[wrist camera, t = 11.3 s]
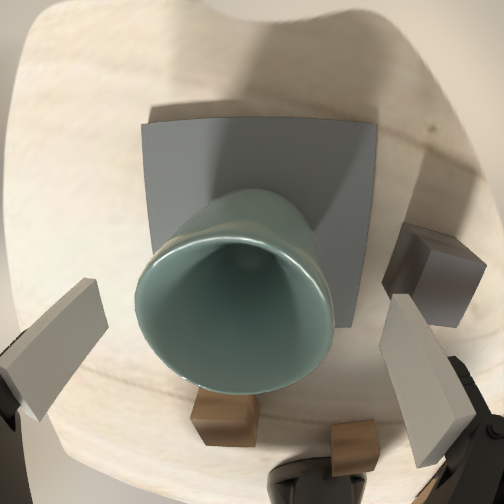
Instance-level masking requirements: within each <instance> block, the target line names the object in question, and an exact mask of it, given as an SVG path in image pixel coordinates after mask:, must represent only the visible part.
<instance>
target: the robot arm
mask: <svg viewBox="0 0 504 504" xmlns="http://www.w3.org/2000/svg"><path fill="white" fill-rule="evenodd" d="M108 328H109V327H108V323H107V320H106V316H105V313H104V309H103V305H102V301H101V297H100V293H99V289H98V285H97V281H96V279H89V278H83V279H82V280H81V281H80V282H79V283H77V284H76V285H75V286H74V287H73V288H72V289H71V290H70V291H68V292H67V293H66V294H65V295H64V296H63V297H62V298H61V299H59V300H58V301H57V302H56V303H55V304H54V305H53V306H52V307H51V308H50V309H49V310H48V311H46V312H45V313H44V314H43V315H42V316H41V317H40V318H39V319H38V320H37V321H36V322H35V323H34V324H33V325H32V326H31V327H30V328H28V329H26V330H25V331H23V332H22V333H21V334H20V335H19V336H18V337H17V338H16V340H14V341H13V342H12V343H11V344H10V346H8V347H7V348H6V349H5V350H4V351H3V352H2V353H1V354H0V504H33V501H32V497H31V493H30V488H29V483H28V477H27V472H26V466H25V459H24V452H23V443H22V434H21V420H20V414H19V413H18V411H17V409H18V408H19V407H20V406H21V408H22V409H23V411H24V412H25V413H26V415H27V416H29V417H31V418H33V419H34V420H36V421H39V422H40V421H41V420H42V418H43V417H44V415H45V414H46V412H47V411H48V409H49V408H50V406H51V405H52V403H53V402H54V401H55V399H56V398H57V396H58V395H59V393H60V392H61V391H62V389H63V388H64V386H65V385H66V384H67V382H68V381H69V379H70V378H71V377H72V375H73V374H74V373H75V371H76V370H77V369H78V367H79V366H80V364H81V363H82V362H83V360H84V359H85V358H86V356H87V355H88V354H89V352H90V351H91V350H92V349H93V347H94V346H95V345H96V343H97V342H98V341H99V339H100V338H101V337H102V336H103V334H104V333H105V332H106V330H107V329H108ZM379 347H380V350H381V353H382V355H383V358H384V361H385V364H386V367H387V370H388V373H389V376H390V378H391V381H392V384H393V388H394V391H395V394H396V397H397V400H398V403H399V406H400V410H401V413H402V416H403V420H404V423H405V426H406V430H407V433H408V437H409V441H410V444H411V448H412V452H413V456H414V460H415V464H416V468H422V467H426V466H430V465H434V464H437V463H438V462H439V460H440V459H441V458H442V457H443V456H444V455H445V458H446V461H447V463H446V464H445V465H444V466H443V467H442V468H441V469H440V471H439V472H438V473H437V474H436V475H435V476H434V477H433V478H434V479H436V478H437V477H438V476H439V477H438V479H437V480H436V482H435V484H434V486H433V488H432V490H431V492H430V493H429V495H428V497H427V499H426V500H425V502H424V504H504V418H503V417H502V416H500V415H495V414H491V412H490V410H489V408H488V406H487V404H486V402H485V400H484V398H483V396H482V395H481V393H480V391H479V389H478V387H477V385H475V382H474V380H473V378H472V376H471V377H470V373H469V371H468V369H467V368H466V366H465V364H464V363H462V362H461V361H460V360H459V359H458V358H457V357H456V356H451V357H447V356H446V354H445V353H444V351H443V349H442V347H441V346H440V344H439V342H438V341H437V339H436V337H435V335H434V334H433V332H432V330H431V329H430V327H429V326H428V324H427V322H426V321H425V319H424V317H423V316H422V314H421V313H420V311H419V309H418V308H417V306H416V305H415V303H414V302H413V300H412V299H411V297H410V296H409V294H392V298H391V303H390V307H389V311H388V315H387V318H386V322H385V326H384V330H383V333H382V337H381V340H380V344H379ZM366 482H367V476H366V472H364V473H357V474H351V475H343V476H335V477H332V460H331V458H319V459H309V460H302V461H297V462H293V463H289V464H286V465H283V466H280V467H278V468H276V469H274V470H273V471H272V472H270V474H269V475H268V482H267V491H268V494H269V498H270V501H271V504H361V501H362V497H363V494H364V490H365V486H366Z"/></svg>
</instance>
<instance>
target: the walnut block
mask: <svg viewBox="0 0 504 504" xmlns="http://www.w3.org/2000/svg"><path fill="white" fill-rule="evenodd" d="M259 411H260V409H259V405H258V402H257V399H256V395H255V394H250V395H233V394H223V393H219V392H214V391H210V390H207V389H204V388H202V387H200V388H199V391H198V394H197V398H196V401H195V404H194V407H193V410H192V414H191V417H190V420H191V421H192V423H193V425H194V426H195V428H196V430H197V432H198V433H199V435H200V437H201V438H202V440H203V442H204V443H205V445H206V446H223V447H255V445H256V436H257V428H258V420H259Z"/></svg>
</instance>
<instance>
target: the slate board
mask: <svg viewBox="0 0 504 504" xmlns="http://www.w3.org/2000/svg"><path fill="white" fill-rule="evenodd" d="M376 131H377V124H370V123H361V122H352V121H341V120H329V119H314V118H292V117H225V118H204V119H188V120H176V121H165V122H156V123H147V124H141V132H142V151H143V166H144V179H145V190H146V201H147V210H148V219H149V228H150V235H151V243H152V250H153V255H154V254H155V253H156V252H157V251H158V249H159V248H160V247H161V246H162V245H163V244H164V243H165V242H166V241H167V240H168V239H169V238H170V236H171V235H172V234H173V233H174V232H175V231H176V230H177V229H178V228H179V227H180V226H181V225H182V224H183V223H184V222H185V221H187V220H188V219H189V218H190V217H191V216H192V215H193V214H194V213H195V212H196V211H198V210H199V209H200V208H201V207H203V206H204V205H206V204H208V203H209V202H211V201H212V200H214V199H216V198H217V197H220V196H222V195H224V194H227V193H229V192H232V191H236V190H241V189H246V188H261V189H265V190H270V191H273V192H275V193H277V194H279V195H281V196H283V197H285V198H286V199H287V200H289V201H290V202H291V203H293V204H294V205H295V206H296V207H297V209H298V210H299V211H300V212H301V213H302V215H303V216H304V217H305V219H306V220H307V222H308V224H309V226H310V227H311V229H312V231H313V233H314V235H315V237H316V240H317V243H318V246H319V249H320V251H321V254H322V258H323V261H324V264H325V268H326V272H327V276H328V280H329V284H330V289H331V294H332V299H333V308H334V319H335V326H334V327H339V328H351V325H352V320H353V316H354V311H355V306H356V301H357V296H358V290H359V285H360V279H361V274H362V268H363V261H364V255H365V248H366V241H367V234H368V227H369V219H370V210H371V201H372V191H373V180H374V167H375V152H376Z"/></svg>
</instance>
